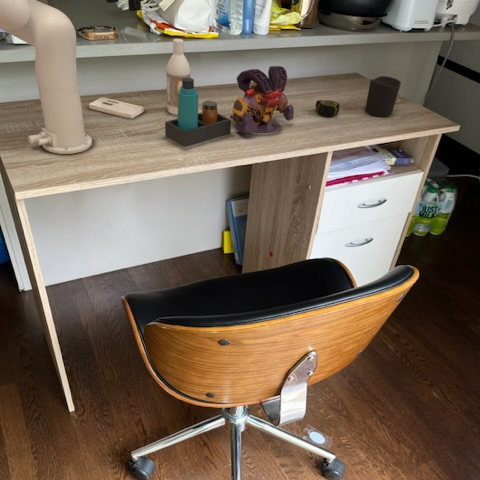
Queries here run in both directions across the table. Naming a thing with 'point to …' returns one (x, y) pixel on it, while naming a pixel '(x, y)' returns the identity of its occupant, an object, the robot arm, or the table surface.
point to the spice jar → (209, 112)
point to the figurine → (261, 100)
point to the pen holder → (382, 96)
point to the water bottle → (187, 105)
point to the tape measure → (327, 107)
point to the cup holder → (197, 131)
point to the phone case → (116, 108)
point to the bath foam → (176, 75)
